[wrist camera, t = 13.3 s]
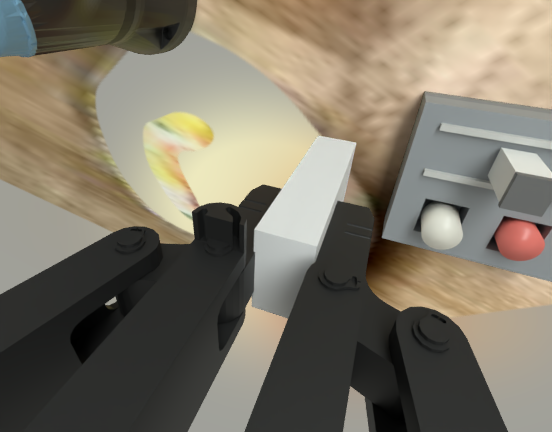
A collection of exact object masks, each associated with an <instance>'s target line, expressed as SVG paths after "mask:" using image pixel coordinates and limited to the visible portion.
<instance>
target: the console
mask: <svg viewBox="0 0 552 432" xmlns="http://www.w3.org/2000/svg"><path fill="white" fill-rule="evenodd" d="M501 148H507V149H513V150H518V151H524V152H530V153H536V154H537V155H538V156H539V157H540V158H541V160H542V161H543V162H544V163H545V165H546V166H547V167H548V168H549V169H550V171H551V172H552V110H551V109H544V108H537V107H530V106H523V105H516V104H509V103H502V102H495V101H488V100H481V99H475V98H468V97H461V96H454V95H447V94H440V93H433V92H426V91H425V92H424V95H423V99H422V102H421V105H420V108H419V111H418V114H417V117H416V121H415V124H414V127H413V130H412V133H411V136H410V140H409V143H408V146H407V149H406V152H405V155H404V159H403V162H402V165H401V168H400V171H399V174H398V177H397V181H396V184H395V187H394V190H393V193H392V196H391V200H390V203H389V206H388V209H387V212H386V215H385V220H384V226H383V233H382V238H385V239H388V240H392V241H396V242H400V243H404V244H408V245H412V246H415V247H419V248H423V249H427V250H431V251H435V252H439V253H443V254H446V255H450V256H454V257H458V258H462V259H466V260H470V261H473V262H477V263H481V264H485V265H489V266H493V267H497V268H500V269H504V270H508V271H512V272H516V273H520V274H524V275H527V276H531V277H535V278H539V279H543V280H547V281H551V282H552V202H551V204H550V205H549V207H548V208H547V210H546V211H545V213H544V214H543V216H542V217H539V216H534V215H530V214H525V213H521V212H516V211H511V210H507V209H502V208H499V206H498V203H499V201H498V199H497V196H496V194H495V192H494V189H493V187H492V184H491V182H490V180H489V177H488V173H489V171H490V169H491V167H492V165H493V163H494V161H495V159H496V157H497V155H498V153H499V151H500V149H501ZM436 201H440V202H445V203H449V204H453V205H454V206H455V207H456V208H457V210H458V212H459V216H460V221H461V226H462V231H463V238H462V240H461V242H460V243H459V244H458V245H457V246H455V247H453V248H451V249H446V250H438V249H434V248H431V247H429V246H428V245H426V244H425V243H424V241H423V239H422V235H421V213H422V210H423V209H424V208H425V207H426V206H427V205H428V204H430V203H432V202H436ZM504 216H508V217H512V218H517V219H521V220H526V221H530V222H534V223H535V225H536V226H537V228H538V230H539V232H540V234H541V236H542V237H543V239H544V242H545V247H544V250H543V251H542V253H541V254H540V255H538V256H537V257H535V258H533V259H530V260H526V261H514V260H510V259H507V258H505V257H504V256H503V255H502V254H501V253H500V251H499V249H498V246H497V243H496V240H495V237H494V233H495V231H496V229H497V227H498V226H499V224H500V222H501V220H502V219H503V217H504Z"/></svg>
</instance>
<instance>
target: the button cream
mask: <svg viewBox="0 0 552 432" xmlns="http://www.w3.org/2000/svg"><path fill="white" fill-rule="evenodd" d="M421 235H422V239H423V241H424V243H425V244H426V245H428V246H429V247H431V248H434V249H438V250H446V249H451V248H453V247H455V246H457V245H458V244H459V243H460V242H461V240H462V238H463V231H462V226H461V221H460V216H459V212H458V210H457V208H456V207H455V206H454V205H453V204H449V203H445V202H440V201H436V202H432V203H430V204H428V205H427V206H426V207H425V208H424V209H423V210H422V213H421Z"/></svg>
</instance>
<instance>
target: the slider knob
mask: <svg viewBox="0 0 552 432" xmlns="http://www.w3.org/2000/svg"><path fill="white" fill-rule="evenodd" d="M488 177H489V180H490V182H491V184H492V187H493V189H494V192H495V194H496V196H497V199H498V201H499V203H498V206H499V208H502V209H507V210H511V211H516V212H521V213H525V214H530V215H534V216H539V217H542V216H543V214H544V213H545V211H546V210H547V208H548V207H549V205H550V204H551V202H552V172H551V171H550V169H549V168H548V167H547V166H546V165H545V163H544V162H543V161H542V160H541V158H540V157H539V156H538V155H537V154H536V153H530V152H524V151H518V150H513V149H507V148H501V149H500V151H499V153H498V155H497V157H496V159H495V161H494V163H493V165H492V167H491V169H490V171H489V173H488Z"/></svg>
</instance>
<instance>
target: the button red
mask: <svg viewBox="0 0 552 432" xmlns="http://www.w3.org/2000/svg"><path fill="white" fill-rule="evenodd" d="M494 237H495V240H496V243H497V246H498V249H499V251H500V253H501V254H502V255H503V256H504V257H505V258H507V259H510V260H514V261H526V260H530V259H533V258H535V257H537V256H538V255H540V254H541V253H542V251H543V250H544V247H545V242H544V239H543V237H542V236H541V234H540V232H539V230H538V228H537V226H536V225H535V223H534V222H530V221H526V220H521V219H517V218H512V217H508V216H504V217H503V219H502V220H501V222H500V224H499V226H498V227H497V229H496V231H495V233H494Z"/></svg>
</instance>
